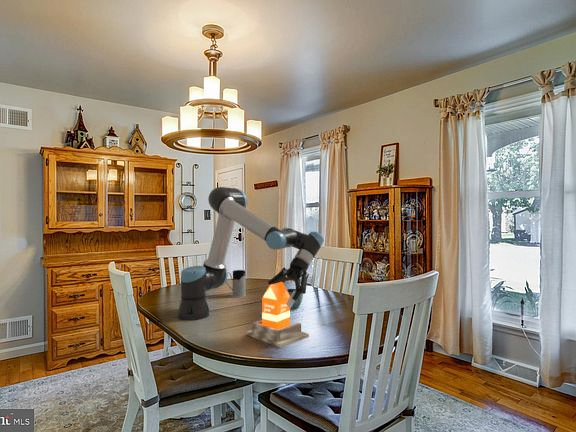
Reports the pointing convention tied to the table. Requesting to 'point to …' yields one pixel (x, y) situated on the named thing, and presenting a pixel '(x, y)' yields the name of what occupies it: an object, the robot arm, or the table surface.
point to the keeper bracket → (277, 334)
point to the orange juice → (276, 307)
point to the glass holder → (238, 283)
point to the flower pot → (298, 301)
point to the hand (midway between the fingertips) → (276, 303)
